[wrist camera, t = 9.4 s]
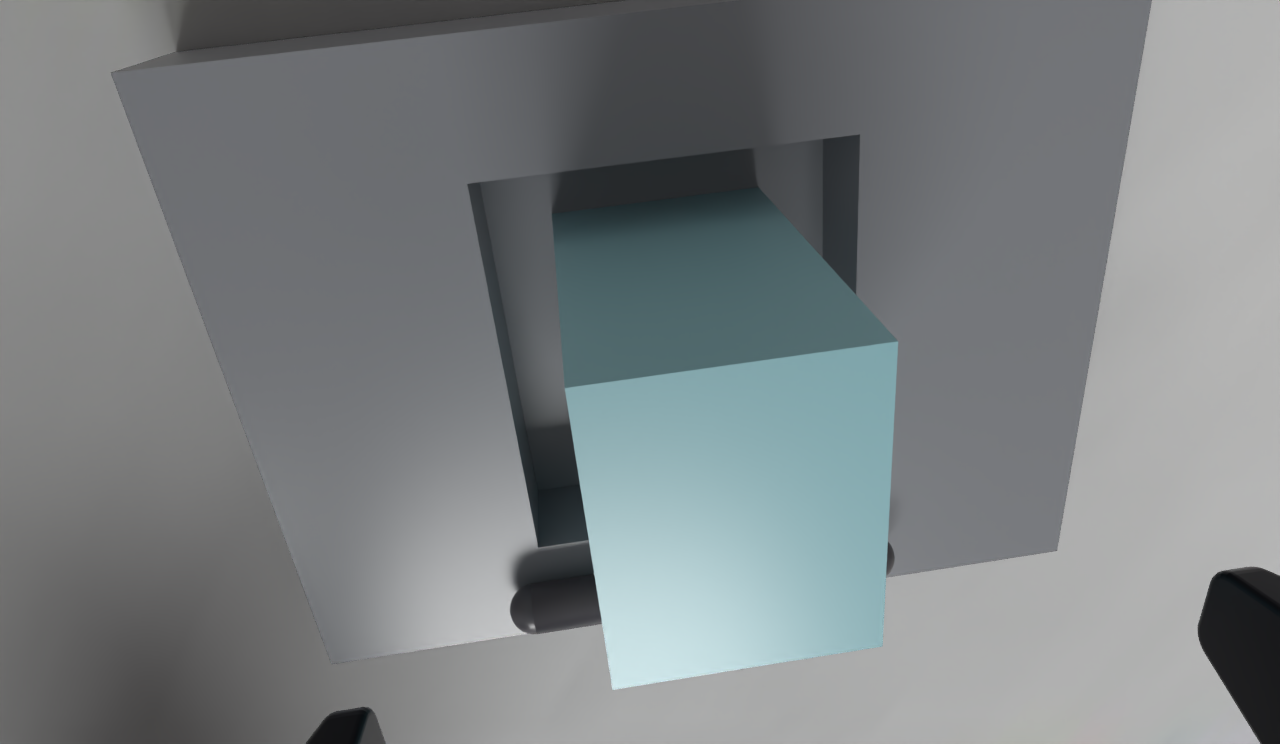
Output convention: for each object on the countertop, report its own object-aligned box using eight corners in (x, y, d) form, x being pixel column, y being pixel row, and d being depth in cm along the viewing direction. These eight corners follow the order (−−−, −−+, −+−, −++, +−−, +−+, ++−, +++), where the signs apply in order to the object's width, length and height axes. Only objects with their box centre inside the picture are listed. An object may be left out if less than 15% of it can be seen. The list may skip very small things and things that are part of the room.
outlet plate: (353, 584, 20) (321, 702, 17) (175, 52, 14) (78, 83, 11) (1001, 486, 21) (1083, 581, 18) (1069, -51, 15) (1205, -48, 12)
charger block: (584, 435, 18) (612, 689, 12) (552, 214, 16) (564, 388, 10) (765, 409, 19) (882, 646, 12) (758, 187, 16) (898, 340, 10)
